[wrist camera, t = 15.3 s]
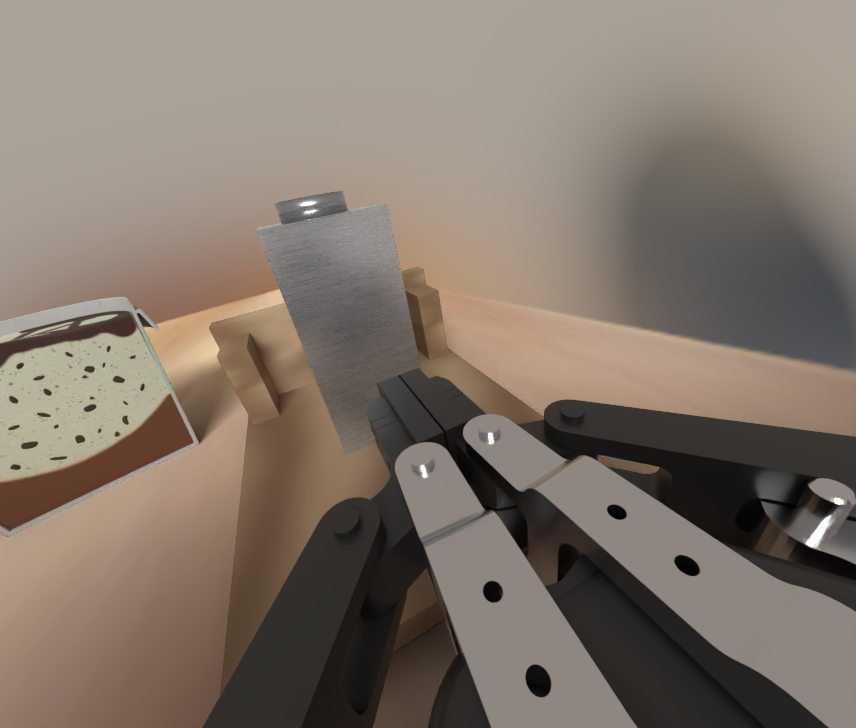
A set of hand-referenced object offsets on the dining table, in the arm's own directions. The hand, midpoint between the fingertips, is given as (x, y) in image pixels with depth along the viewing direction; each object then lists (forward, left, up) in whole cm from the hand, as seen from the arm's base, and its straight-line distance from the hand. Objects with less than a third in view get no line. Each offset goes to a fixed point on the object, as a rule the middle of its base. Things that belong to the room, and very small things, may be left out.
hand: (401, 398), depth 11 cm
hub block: (0, +8, -5) cm, 9 cm away
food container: (-17, +15, -7) cm, 24 cm away
